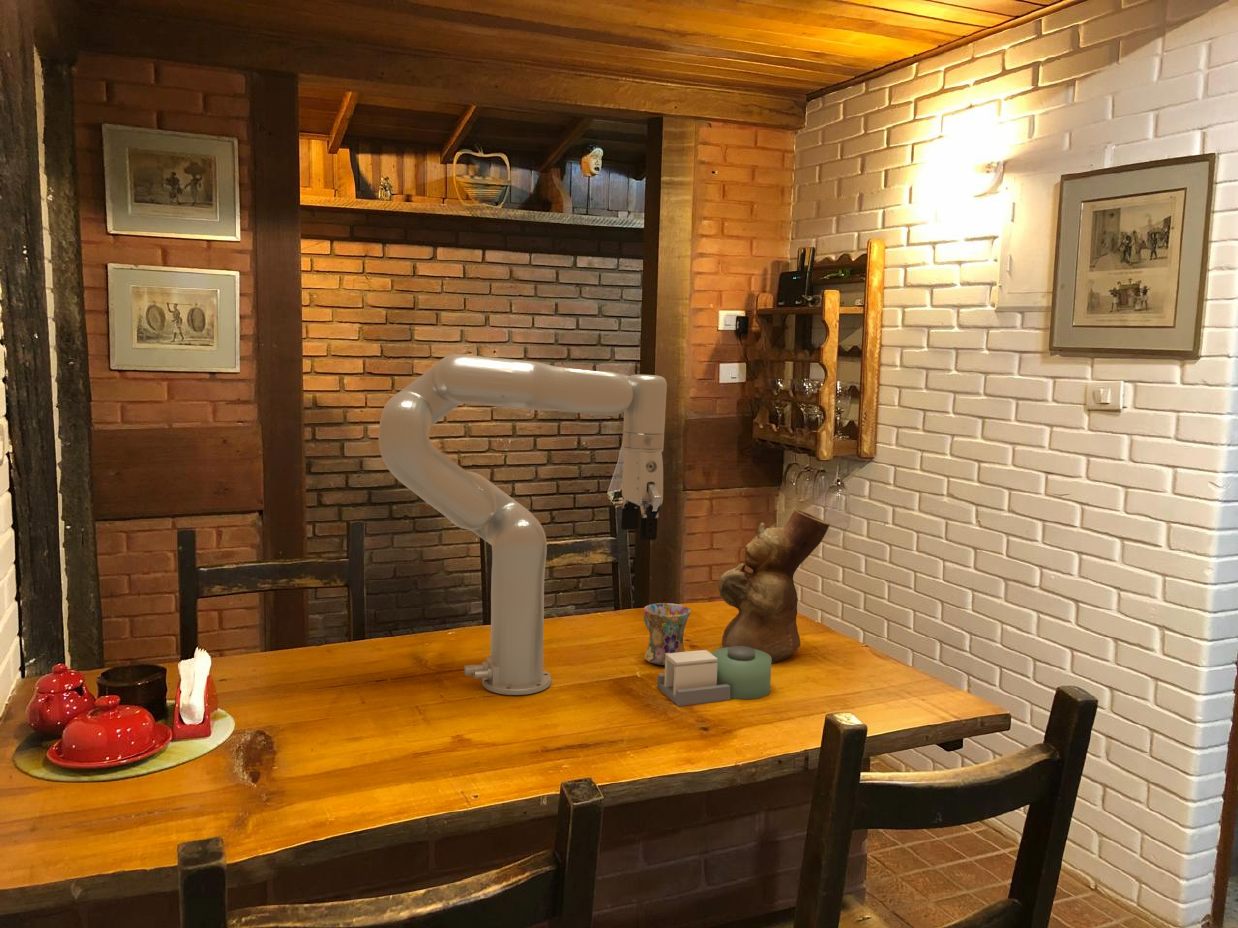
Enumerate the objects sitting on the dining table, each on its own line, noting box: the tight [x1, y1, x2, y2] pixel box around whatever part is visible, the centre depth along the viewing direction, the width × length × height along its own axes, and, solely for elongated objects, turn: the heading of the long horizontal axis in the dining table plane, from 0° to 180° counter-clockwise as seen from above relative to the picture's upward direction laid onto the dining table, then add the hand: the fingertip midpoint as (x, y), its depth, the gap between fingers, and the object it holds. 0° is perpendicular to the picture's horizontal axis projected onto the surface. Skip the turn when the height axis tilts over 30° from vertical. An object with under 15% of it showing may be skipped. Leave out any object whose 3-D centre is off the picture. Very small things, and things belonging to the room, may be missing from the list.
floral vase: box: [643, 602, 692, 667], centre depth 183 cm, size 12×9×11 cm
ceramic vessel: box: [718, 509, 830, 664], centre depth 187 cm, size 16×22×30 cm
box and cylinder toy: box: [656, 646, 772, 707], centre depth 166 cm, size 20×11×7 cm, turn 111°
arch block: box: [664, 649, 718, 696], centre depth 164 cm, size 8×5×6 cm, turn 109°
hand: (638, 534), depth 170 cm, fingers open, 9 cm apart
